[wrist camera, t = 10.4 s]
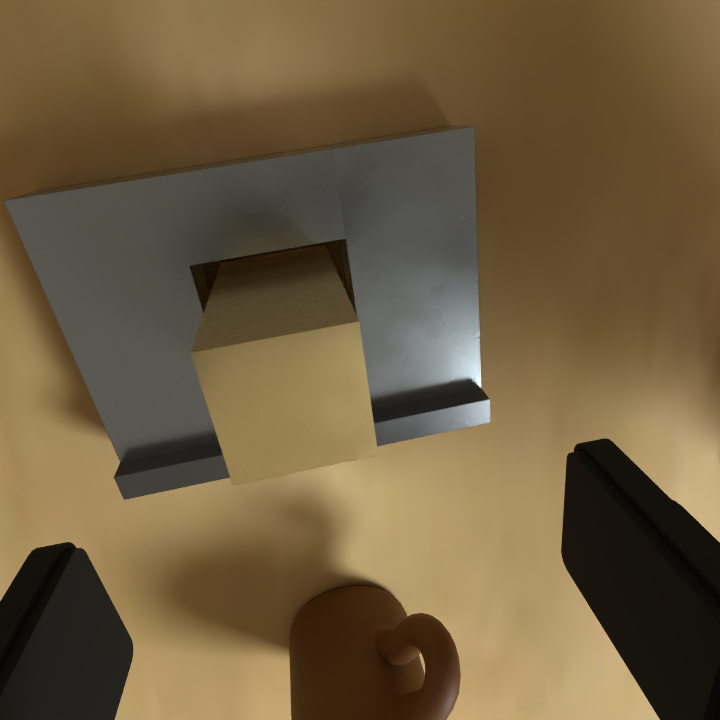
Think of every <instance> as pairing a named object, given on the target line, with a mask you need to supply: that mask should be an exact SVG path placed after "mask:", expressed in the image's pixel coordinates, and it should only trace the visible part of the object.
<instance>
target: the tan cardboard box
mask: <svg viewBox="0 0 720 720" xmlns="http://www.w3.org/2000/svg"><path fill="white" fill-rule="evenodd" d="M191 357H192V360H193V363H194V366H195V369H196V372H197V375H198V378H199V381H200V385H201V388H202V391H203V394H204V397H205V400H206V403H207V406H208V409H209V413H210V416H211V419H212V422H213V425H214V428H215V431H216V434H217V438H218V441H219V444H220V447H221V450H222V453H223V456H224V459H225V462H226V466H227V469H228V472H229V475H230V478H231V481H232V484H233V485H238V484H243V483H247V482H252V481H257V480H262V479H266V478H271V477H276V476H281V475H285V474H290V473H295V472H299V471H304V470H309V469H314V468H318V467H323V466H328V465H333V464H337V463H342V462H347V461H352V460H356V459H361V458H366V457H371V456H375V455H378V449H377V442H376V435H375V428H374V421H373V414H372V407H371V400H370V393H369V386H368V379H367V372H366V365H365V358H364V351H363V344H362V337H361V330H360V323H359V320H358V318H357V315H356V313H355V311H354V309H353V306H352V304H351V302H350V300H349V297H348V295H347V293H346V291H345V288H344V286H343V284H342V282H341V279H340V277H339V275H338V273H337V270H336V268H335V266H334V264H333V261H332V259H331V257H330V255H329V252H328V250H327V248H326V246H325V245H320V246H315V247H309V248H303V249H297V250H291V251H285V252H280V253H274V254H268V255H262V256H256V257H250V258H245V259H239V260H233V261H227V262H221V264H220V267H219V270H218V273H217V276H216V279H215V282H214V285H213V288H212V291H211V294H210V297H209V300H208V302H207V305H206V308H205V311H204V314H203V317H202V320H201V323H200V326H199V329H198V332H197V335H196V338H195V341H194V344H193V347H192V350H191Z"/></svg>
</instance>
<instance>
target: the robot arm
mask: <svg viewBox="0 0 720 720" xmlns="http://www.w3.org/2000/svg"><path fill="white" fill-rule="evenodd" d="M561 553H562V558H563V562H564V564H565V567H566V569H567V571H568V572H569V574H570V576H571V577H572V579H573V580H574V582H575V584H576V585H577V587H578V588H579V590H580V592H581V593H582V595H583V597H584V598H585V600H586V601H587V603H588V605H589V606H590V608H591V609H592V611H593V613H594V614H595V616H596V617H597V619H598V621H599V622H600V624H601V625H602V627H603V629H604V630H605V632H606V633H607V635H608V637H609V638H610V640H611V642H612V643H613V645H614V646H615V648H616V650H617V651H618V653H619V654H620V656H621V658H622V659H623V661H624V662H625V664H626V666H627V667H628V669H629V670H630V672H631V674H632V675H633V677H634V678H635V680H636V682H637V683H638V685H639V686H640V688H641V690H642V691H643V693H644V695H645V696H646V698H647V699H648V701H649V703H650V704H651V706H652V707H653V709H654V711H655V712H656V714H657V715H658V717H659V719H660V720H720V543H719V542H718V541H717V540H716V539H715V538H714V537H713V536H712V535H711V534H710V533H709V532H708V531H707V530H706V529H705V528H704V527H703V526H702V525H701V524H700V523H699V522H698V521H697V520H696V519H695V518H694V517H693V516H692V515H690V514H689V513H688V512H687V511H686V510H685V509H684V508H683V507H682V506H681V505H680V504H678V503H677V502H676V501H674V500H671V499H670V498H669V497H668V496H667V495H666V494H665V493H664V492H663V491H662V490H661V489H660V488H659V487H658V486H657V485H656V484H655V483H654V482H653V481H652V480H651V479H650V478H649V477H648V476H647V475H646V474H645V473H644V472H643V471H642V470H641V469H640V468H639V467H638V466H637V465H636V464H635V463H634V462H633V461H632V460H631V459H630V458H629V457H627V456H626V455H625V454H624V453H623V452H622V451H621V450H620V449H619V448H618V447H617V446H616V445H615V444H614V443H613V442H612V441H611V440H609V439H606V438H605V439H599V440H594V441H589V442H584V443H579V444H577V445H576V446H575V448H574V452H572V453H569V454H568V456H567V464H566V480H565V497H564V514H563V531H562V547H561ZM132 658H133V643H132V640H131V637H130V635H129V633H128V631H127V630H126V628H125V626H124V624H123V622H122V620H121V618H120V616H119V614H118V612H117V610H116V609H115V607H114V605H113V603H112V601H111V599H110V597H109V595H108V593H107V591H106V590H105V588H104V586H103V584H102V582H101V580H100V578H99V576H98V574H97V572H96V570H95V569H94V567H93V565H92V563H91V561H90V559H89V557H88V555H87V553H86V552H85V550H84V549H82V548H76V547H75V545H74V544H72V543H71V542H66V543H61V544H55V545H50V546H45V547H40V548H36V549H34V550H33V551H32V552H31V553H30V554H29V555H28V557H27V559H26V560H25V562H24V564H23V565H22V567H21V569H20V570H19V572H18V573H17V575H16V577H15V578H14V580H13V582H12V583H11V585H10V587H9V588H8V590H7V591H6V593H5V595H4V596H3V598H2V600H1V601H0V720H114V719H115V716H116V713H117V709H118V706H119V703H120V699H121V696H122V693H123V689H124V686H125V682H126V679H127V676H128V672H129V669H130V666H131V662H132Z"/></svg>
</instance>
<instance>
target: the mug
mask: <svg viewBox="0 0 720 720" xmlns="http://www.w3.org/2000/svg"><path fill="white" fill-rule="evenodd" d="M289 649H290V683H291V717H292V720H446V719H447V718H448V716H449V715H450V713H451V711H452V710H453V707H454V705H455V702H456V699H457V697H458V694H459V686H460V664H459V657H458V653H457V649H456V646H455V643H454V641H453V639H452V637H451V635H450V633H449V632H448V631H447V629H446V628H445V627H444V626H443V624H442V623H441V622H440V621H439V620H437V619H436V618H434V617H433V616H431V615H428V614H424V613H418V614H412V615H410V616H408V617H407V614H406V612H405V610H404V608H403V606H402V605H401V603H400V602H399V601H398V600H397V599H396V598H395V597H394V596H392V595H391V594H389V593H388V592H386V591H384V590H381V589H378V588H375V587H369V586H349V587H343V588H338V589H335V590H332V591H329V592H327V593H324V594H322V595H320V596H319V597H317V598H315V599H314V600H312V601H311V602H310V603H308V604H307V605H306V606H305V607H304V608H303V609H302V610H301V611H300V613H299V614H298V616H297V617H296V619H295V621H294V623H293V626H292V629H291V634H290V645H289ZM420 652H421V653H422V656H423V658H424V662H425V674H424V671H423V667H422V664H421V660H420V657H419V654H420Z"/></svg>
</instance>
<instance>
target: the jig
mask: <svg viewBox="0 0 720 720" xmlns="http://www.w3.org/2000/svg"><path fill="white" fill-rule="evenodd" d="M4 202H5V205H6V207H7V209H8V211H9V214H10V216H11V218H12V220H13V223H14V225H15V227H16V229H17V232H18V234H19V236H20V238H21V241H22V243H23V245H24V247H25V250H26V252H27V254H28V256H29V258H30V261H31V263H32V265H33V267H34V270H35V272H36V274H37V276H38V279H39V281H40V283H41V285H42V288H43V290H44V292H45V294H46V297H47V299H48V301H49V303H50V306H51V308H52V310H53V312H54V315H55V317H56V319H57V321H58V324H59V326H60V328H61V330H62V333H63V335H64V337H65V339H66V341H67V344H68V346H69V348H70V350H71V353H72V355H73V357H74V359H75V362H76V364H77V366H78V368H79V371H80V373H81V375H82V377H83V380H84V382H85V384H86V386H87V389H88V391H89V393H90V395H91V398H92V400H93V402H94V404H95V407H96V409H97V411H98V413H99V416H100V418H101V420H102V422H103V424H104V427H105V429H106V431H107V433H108V436H109V438H110V440H111V442H112V445H113V447H114V449H115V451H116V454H117V456H118V458H119V460H120V464H119V467H118V469H117V471H116V474H115V476H114V479H115V481H116V483H117V485H118V488H119V490H120V492H121V494H122V496H123V498H124V500H125V499H130V498H135V497H140V496H144V495H149V494H154V493H158V492H163V491H168V490H173V489H177V488H182V487H187V486H191V485H196V484H201V483H206V482H210V481H215V480H220V479H225V478H229V477H230V475H229V472H228V469H227V466H226V462H225V459H224V456H223V453H222V450H221V447H220V444H219V441H218V438H217V434H216V431H215V428H214V425H213V422H212V419H211V416H210V413H209V409H208V406H207V403H206V400H205V397H204V394H203V391H202V388H201V385H200V381H199V378H198V375H197V372H196V369H195V366H194V363H193V360H192V357H191V350H192V347H193V344H194V341H195V338H196V335H197V332H198V329H199V326H200V323H201V320H202V317H203V314H204V311H205V308H206V305H207V302H208V300H209V297H210V290H209V287H208V283H207V280H206V276H205V273H204V269H203V266H202V263H208V262H213V261H219V260H225V259H231V258H236V257H242V256H248V255H254V254H259V253H265V252H271V251H277V250H282V249H288V248H294V247H300V246H306V245H311V244H317V243H323V242H329V241H334V240H340V245H341V252H342V258H343V265H344V271H345V278H346V284H347V291H348V297H349V300H350V302H351V304H352V306H353V309H354V311H355V313H356V315H357V318H358V320H359V323H360V330H361V337H362V344H363V351H364V358H365V365H366V372H367V379H368V386H369V393H370V400H371V407H372V414H373V421H374V428H375V435H376V442H377V446H380V445H385V444H390V443H395V442H399V441H404V440H409V439H413V438H418V437H423V436H428V435H432V434H437V433H442V432H446V431H451V430H456V429H461V428H465V427H470V426H475V425H480V424H484V423H489V422H490V399H489V398H488V396H487V395H486V394H485V393H484V391H483V390H482V389H481V366H480V327H479V288H478V248H477V209H476V170H475V131H474V127H462V126H449V127H442V128H436V129H430V130H423V131H417V132H410V133H404V134H398V135H391V136H385V137H378V138H372V139H366V140H359V141H353V142H346V143H340V144H334V145H327V146H321V147H314V148H308V149H302V150H295V151H289V152H283V153H276V154H270V155H263V156H257V157H251V158H244V159H238V160H231V161H225V162H219V163H212V164H206V165H199V166H193V167H187V168H180V169H174V170H167V171H161V172H155V173H148V174H142V175H136V176H129V177H123V178H116V179H110V180H104V181H97V182H91V183H84V184H78V185H72V186H65V187H59V188H52V189H46V190H40V191H35V192H31V193H28V194H25V195H22V196H18V197H15V198H12V199H9V200H5V201H4Z"/></svg>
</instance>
